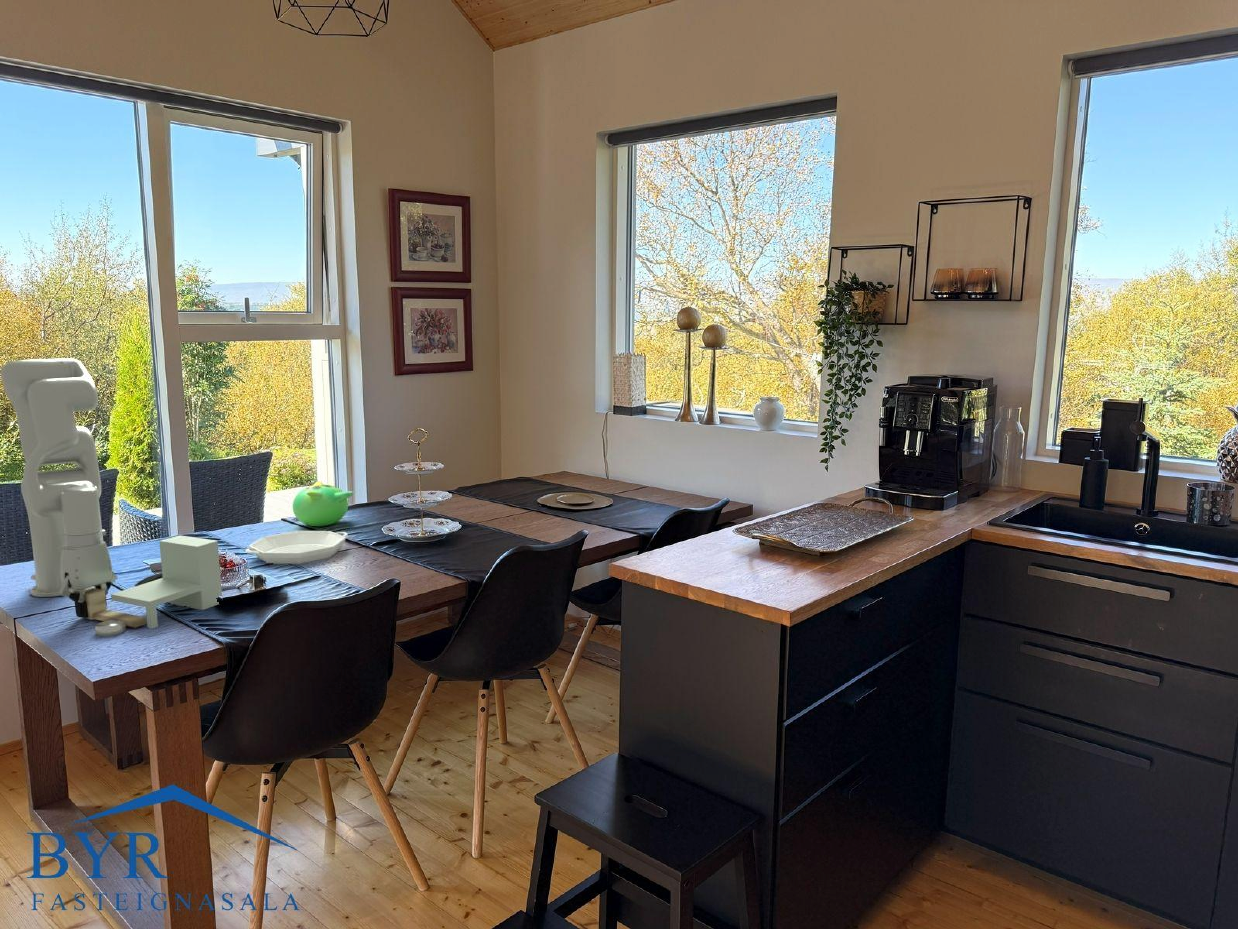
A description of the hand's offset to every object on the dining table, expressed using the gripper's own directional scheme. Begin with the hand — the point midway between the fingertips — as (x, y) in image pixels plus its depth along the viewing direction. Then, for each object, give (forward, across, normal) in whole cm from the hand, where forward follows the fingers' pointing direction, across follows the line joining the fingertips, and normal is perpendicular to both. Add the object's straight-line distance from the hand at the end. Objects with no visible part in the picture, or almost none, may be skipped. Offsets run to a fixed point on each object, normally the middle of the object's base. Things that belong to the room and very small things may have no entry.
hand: (91, 613), depth 209 cm
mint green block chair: (+2, -33, -9) cm, 34 cm away
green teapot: (+2, -94, -14) cm, 95 cm away
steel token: (+1, +4, +12) cm, 13 cm away
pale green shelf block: (+1, -11, +13) cm, 17 cm away
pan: (+2, -63, +4) cm, 63 cm away
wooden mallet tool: (0, 0, +7) cm, 7 cm away
